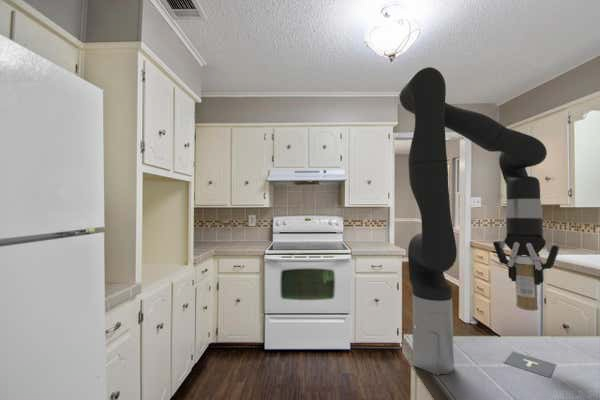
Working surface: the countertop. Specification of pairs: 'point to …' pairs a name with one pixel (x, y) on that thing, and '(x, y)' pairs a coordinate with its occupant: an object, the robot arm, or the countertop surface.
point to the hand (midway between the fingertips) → (525, 282)
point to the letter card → (530, 364)
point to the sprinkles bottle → (525, 283)
